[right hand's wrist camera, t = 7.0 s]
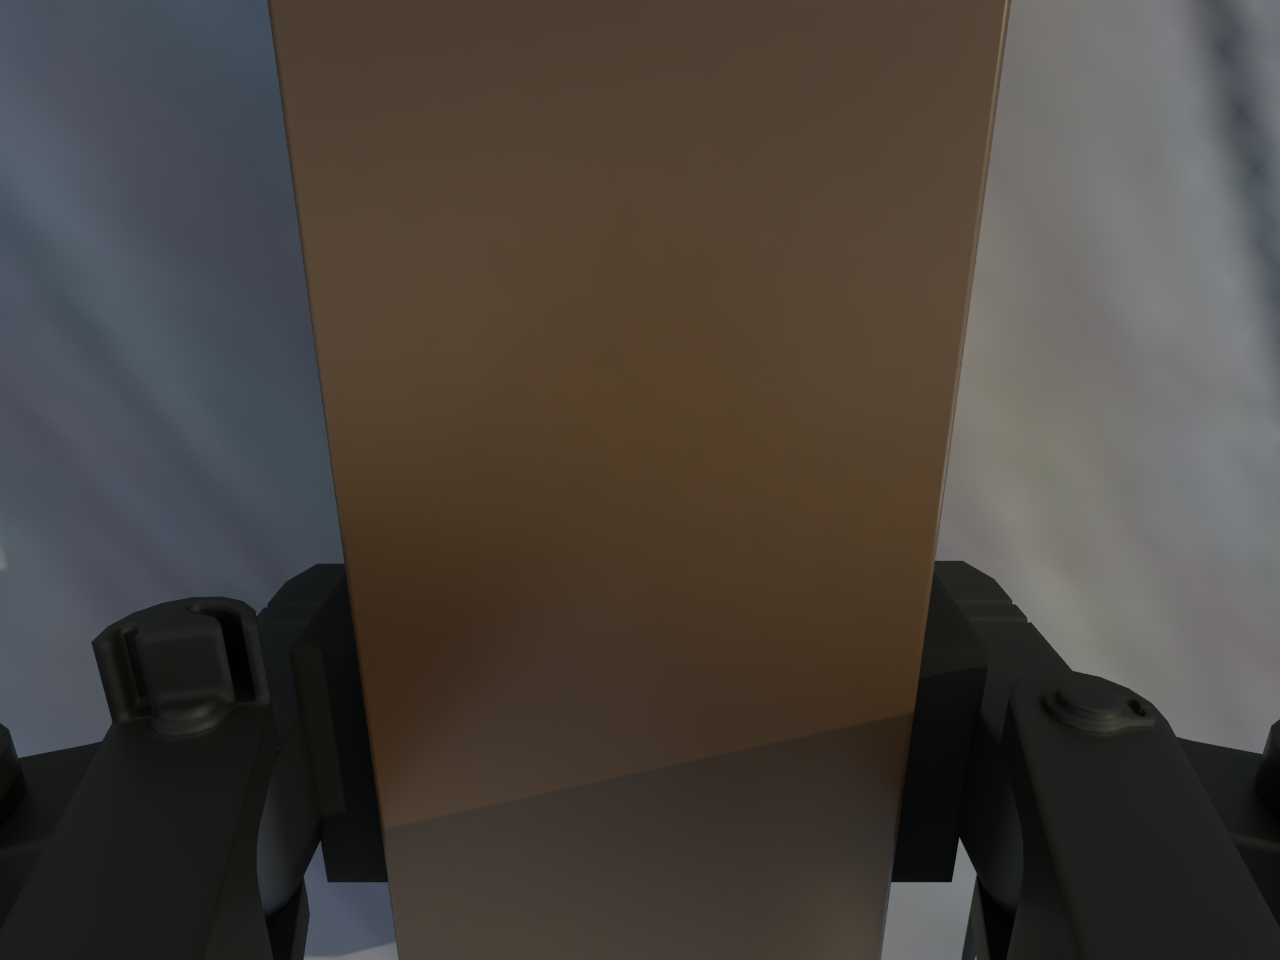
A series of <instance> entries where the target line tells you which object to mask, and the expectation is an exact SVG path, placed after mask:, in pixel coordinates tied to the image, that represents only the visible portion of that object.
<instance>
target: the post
mask: <svg viewBox="0 0 1280 960" xmlns="http://www.w3.org/2000/svg"><path fill="white" fill-rule="evenodd" d="M1010 5H1011V0H268V7H269V14H270V22H271V29H272V36H273V44H274V51H275V58H276V65H277V73H278V80H279V87H280V95H281V102H282V109H283V117H284V124H285V131H286V139H287V146H288V153H289V160H290V168H291V175H292V182H293V190H294V197H295V204H296V212H297V219H298V226H299V234H300V241H301V248H302V255H303V263H304V270H305V277H306V285H307V292H308V299H309V307H310V314H311V321H312V329H313V336H314V343H315V350H316V358H317V365H318V372H319V380H320V387H321V394H322V402H323V409H324V416H325V424H326V431H327V438H328V445H329V453H330V460H331V467H332V475H333V482H334V489H335V497H336V504H337V511H338V519H339V526H340V533H341V540H342V548H343V555H344V562H345V570H346V577H347V584H348V592H349V599H350V606H351V613H352V621H353V628H354V635H355V643H356V650H357V657H358V665H359V672H360V679H361V687H362V694H363V701H364V708H365V716H366V723H367V730H368V738H369V745H370V752H371V760H372V767H373V774H374V782H375V789H376V796H377V803H378V811H379V818H380V825H381V833H382V840H383V847H384V855H385V862H386V869H387V877H388V884H389V891H390V898H391V906H392V913H393V920H394V928H395V935H396V942H397V950H398V957H399V960H881V953H882V945H883V938H884V931H885V923H886V916H887V909H888V901H889V894H890V886H891V879H892V872H893V864H894V857H895V850H896V842H897V835H898V828H899V820H900V813H901V806H902V798H903V791H904V784H905V776H906V769H907V762H908V754H909V747H910V740H911V732H912V725H913V717H914V710H915V703H916V695H917V688H918V681H919V673H920V666H921V659H922V651H923V644H924V637H925V629H926V622H927V615H928V607H929V600H930V593H931V585H932V578H933V571H934V563H935V556H936V548H937V541H938V534H939V526H940V519H941V512H942V504H943V497H944V490H945V482H946V475H947V468H948V460H949V453H950V446H951V438H952V431H953V424H954V416H955V409H956V402H957V394H958V387H959V379H960V372H961V365H962V357H963V350H964V343H965V335H966V328H967V321H968V313H969V306H970V299H971V291H972V284H973V277H974V269H975V262H976V255H977V247H978V240H979V233H980V225H981V218H982V210H983V203H984V196H985V188H986V181H987V174H988V166H989V159H990V152H991V144H992V137H993V130H994V122H995V115H996V108H997V100H998V93H999V86H1000V78H1001V71H1002V64H1003V56H1004V49H1005V41H1006V34H1007V27H1008V19H1009V12H1010Z"/></svg>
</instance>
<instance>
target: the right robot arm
mask: <svg viewBox="0 0 1280 960" xmlns="http://www.w3.org/2000/svg"><path fill="white" fill-rule="evenodd" d="M92 646H93V649H94V653H95V657H96V661H97V665H98V668H99V672H100V676H101V680H102V684H103V687H104V691H105V695H106V699H107V703H108V706H109V710H110V714H111V718H112V722H113V723H112V724H111V726H110V728H109V730H108V732H107V734H106V735H105V737H104V739H103V741H101V742H97V743H93V744H89V745H84V746H79V747H74V748H69V749H64V750H58V751H53V752H48V753H43V754H38V755H32V756H27V757H22V758H18V757H17V754H16V750H15V747H14V744H13V741H12V738H11V735H10V731H9V730H8V729H7V728H6V727H5V726H3V725H2V724H1V723H0V960H303V959H304V952H305V945H306V937H307V930H308V923H309V916H310V914H309V906H308V898H307V892H306V887H305V881H304V874H305V872H306V870H307V868H308V865H309V863H310V861H311V859H312V857H313V855H314V853H315V851H316V849H317V846H318V844H319V842H320V840H321V845H322V851H323V857H324V863H325V868H326V874H327V880H328V882H388V877H387V869H386V862H385V855H384V847H383V840H382V833H381V825H380V818H379V811H378V803H377V796H376V789H375V782H374V774H373V767H372V760H371V752H370V745H369V738H368V730H367V723H366V716H365V708H364V701H363V694H362V687H361V679H360V672H359V665H358V657H357V650H356V643H355V635H354V628H353V621H352V613H351V606H350V599H349V592H348V584H347V577H346V570H345V564H316V565H314V566H313V567H311V568H309V569H307V570H306V571H304V572H302V573H301V574H299V575H297V576H295V577H294V578H292V579H290V580H289V581H287V582H286V583H285V584H284V585H283V586H282V587H281V588H280V590H279V591H278V592H277V593H276V594H275V596H274V597H273V598H272V599H271V600H270V601H269V603H268V608H264V609H263V610H262V611H261V612H260V613H259V614H258V616H257V617H256V612H255V610H254V609H253V608H252V607H250V606H249V605H247V604H246V603H245V602H243V601H240V600H235V599H230V598H225V597H193V598H187V599H182V600H176V601H171V602H165V603H161V604H158V605H155V606H152V607H150V608H147V609H144V610H141V611H138V612H135V613H132V614H130V615H129V616H127V617H125V618H123V619H121V620H119V621H118V622H116V623H114V624H112V625H110V626H108V627H107V628H106V629H105V630H104V631H103V632H102V633H101V634H100V635H99V636H98V637H96V638H95V639H94V640H93V641H92ZM959 837H960V839H961V841H962V843H963V845H964V847H965V849H966V852H967V854H968V856H969V858H970V860H971V862H972V864H973V866H974V868H975V870H976V873H977V876H976V881H975V887H974V892H973V898H972V903H971V909H970V914H969V920H968V925H967V931H966V936H965V942H964V947H963V953H962V960H975V956H976V957H977V960H1280V720H1278V721H1277V722H1276V723H1274V724H1273V725H1272V726H1271V729H1270V732H1269V736H1268V739H1267V742H1266V745H1265V748H1264V751H1263V754H1258V753H1253V752H1248V751H1242V750H1237V749H1232V748H1227V747H1221V746H1216V745H1211V744H1206V743H1200V742H1195V741H1191V740H1187V739H1183V738H1178V737H1176V736H1175V734H1174V732H1173V730H1172V728H1171V727H1170V725H1169V723H1168V721H1167V720H1166V719H1165V718H1164V716H1163V715H1162V714H1161V713H1160V712H1159V711H1158V710H1157V708H1156V707H1155V706H1154V705H1153V704H1152V703H1150V702H1149V701H1147V700H1146V699H1144V698H1143V697H1141V696H1140V695H1138V694H1136V693H1135V692H1133V691H1132V690H1130V689H1129V688H1126V687H1124V686H1121V685H1119V684H1116V683H1114V682H1111V681H1109V680H1106V679H1104V678H1101V677H1097V676H1093V675H1088V674H1084V673H1079V672H1074V671H1072V670H1071V669H1070V667H1069V666H1068V665H1067V664H1066V663H1065V662H1064V660H1063V659H1062V658H1061V657H1060V656H1059V655H1058V653H1057V652H1056V651H1055V650H1054V649H1053V648H1052V646H1051V645H1050V644H1049V643H1048V642H1047V641H1046V639H1045V638H1044V637H1043V636H1042V635H1041V634H1040V632H1039V631H1038V630H1037V629H1036V628H1035V626H1034V625H1033V624H1032V623H1028V622H1027V617H1026V616H1025V615H1024V614H1023V612H1022V611H1021V610H1020V609H1019V608H1018V607H1017V605H1012V600H1011V598H1010V597H1009V596H1008V595H1007V594H1006V593H1005V591H1004V590H1003V589H1002V588H1001V587H1000V586H999V584H998V583H997V582H996V581H995V580H994V579H993V578H991V577H990V576H988V575H986V574H984V573H983V572H981V571H979V570H978V569H976V568H974V567H972V566H971V565H969V564H967V563H965V562H964V561H935V563H934V571H933V578H932V585H931V593H930V600H929V607H928V615H927V622H926V629H925V637H924V644H923V651H922V659H921V666H920V673H919V681H918V688H917V695H916V703H915V710H914V717H913V725H912V732H911V740H910V747H909V754H908V762H907V769H906V776H905V784H904V791H903V798H902V806H901V813H900V820H899V828H898V835H897V842H896V850H895V857H894V864H893V872H892V879H891V882H952V877H953V871H954V865H955V859H956V853H957V848H958V842H959Z"/></svg>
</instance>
